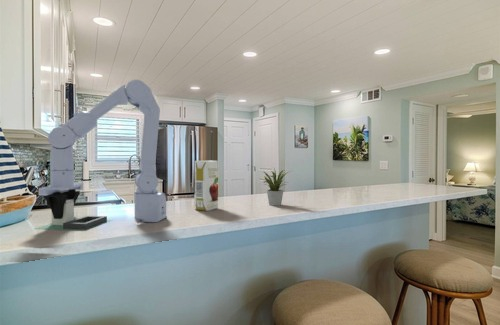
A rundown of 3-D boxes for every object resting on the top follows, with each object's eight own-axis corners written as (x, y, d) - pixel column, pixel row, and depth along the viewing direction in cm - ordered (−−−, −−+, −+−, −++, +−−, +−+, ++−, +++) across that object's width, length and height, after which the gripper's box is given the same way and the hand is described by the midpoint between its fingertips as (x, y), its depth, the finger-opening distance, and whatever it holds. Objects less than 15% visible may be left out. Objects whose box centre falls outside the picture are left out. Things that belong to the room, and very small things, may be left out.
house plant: (293, 202, 127) (294, 166, 127) (295, 207, 113) (296, 167, 113) (262, 201, 129) (262, 165, 128) (260, 207, 115) (260, 167, 114)
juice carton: (191, 209, 109) (191, 160, 108) (205, 206, 116) (205, 160, 116) (207, 211, 105) (207, 160, 105) (220, 208, 113) (220, 160, 112)
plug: (73, 222, 83) (73, 199, 83) (66, 225, 80) (66, 200, 80) (57, 222, 84) (57, 198, 83) (49, 224, 81) (49, 200, 80)
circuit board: (112, 223, 87) (112, 215, 87) (86, 233, 75) (86, 224, 75) (67, 222, 88) (66, 214, 88) (34, 232, 76) (34, 223, 76)
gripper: (67, 169, 89) (68, 211, 89) (27, 171, 75) (28, 222, 75) (88, 169, 88) (89, 212, 89) (52, 171, 74) (53, 223, 74)
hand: (62, 217), depth 82 cm, fingers closed on plug, 3 cm apart
